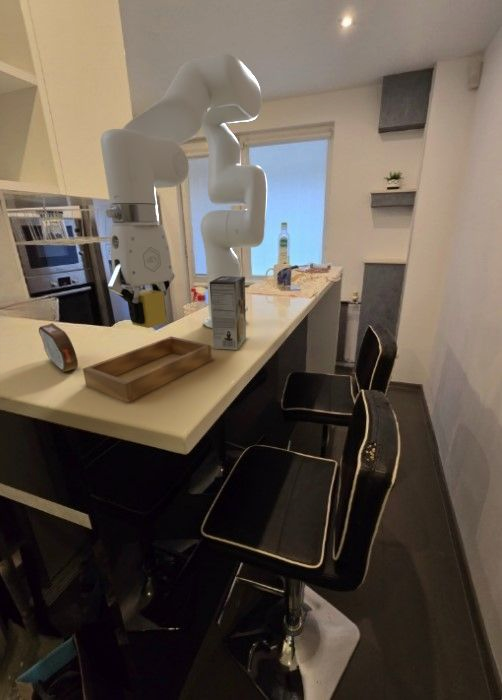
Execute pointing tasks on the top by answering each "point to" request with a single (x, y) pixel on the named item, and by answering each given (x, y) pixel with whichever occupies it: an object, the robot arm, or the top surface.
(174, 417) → the top surface
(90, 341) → the top surface
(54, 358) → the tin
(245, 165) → the robot arm
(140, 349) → the wooden tray
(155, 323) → the block
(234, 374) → the top surface
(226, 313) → the coffee box
